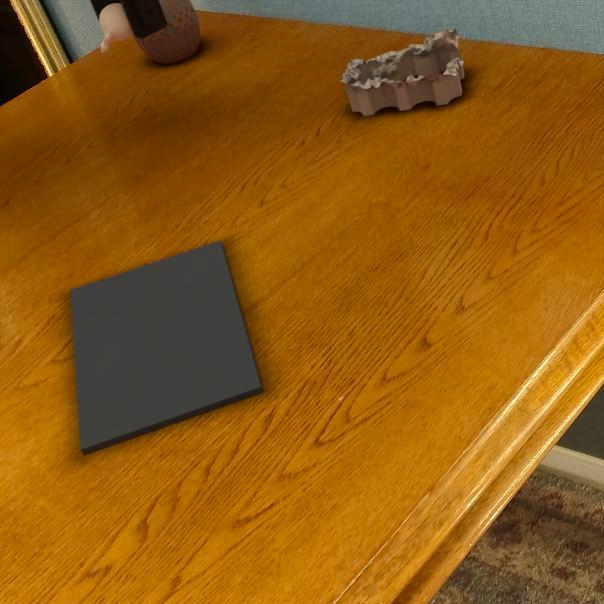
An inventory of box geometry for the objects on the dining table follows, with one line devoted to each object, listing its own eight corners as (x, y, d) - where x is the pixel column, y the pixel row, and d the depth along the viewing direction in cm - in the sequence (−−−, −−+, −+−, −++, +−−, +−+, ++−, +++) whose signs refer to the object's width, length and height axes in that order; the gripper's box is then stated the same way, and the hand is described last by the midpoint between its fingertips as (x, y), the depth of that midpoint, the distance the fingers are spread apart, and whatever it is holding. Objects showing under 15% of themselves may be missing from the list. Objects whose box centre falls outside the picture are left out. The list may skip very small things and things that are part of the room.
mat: (74, 298, 77) (69, 289, 77) (224, 248, 79) (220, 239, 78) (86, 458, 64) (80, 449, 64) (265, 395, 66) (261, 386, 65)
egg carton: (471, 71, 93) (462, 25, 90) (461, 110, 88) (451, 63, 85) (361, 84, 95) (349, 39, 92) (345, 122, 90) (331, 77, 87)
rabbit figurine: (83, 51, 90) (122, -23, 91) (125, 78, 92) (163, 5, 93) (90, 26, 85) (131, -52, 86) (135, 55, 87) (175, -21, 88)
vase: (154, 78, 103) (114, -12, 97) (139, 57, 108) (100, -30, 101) (217, 55, 105) (182, -35, 98) (199, 36, 109) (165, -52, 103)
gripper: (-60, -211, 79) (51, 28, 93) (47, -200, 71) (153, 61, 84) (23, -237, 83) (119, -3, 96) (135, -229, 74) (223, 26, 88)
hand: (134, 25), depth 90 cm, fingers closed on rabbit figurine, 4 cm apart
